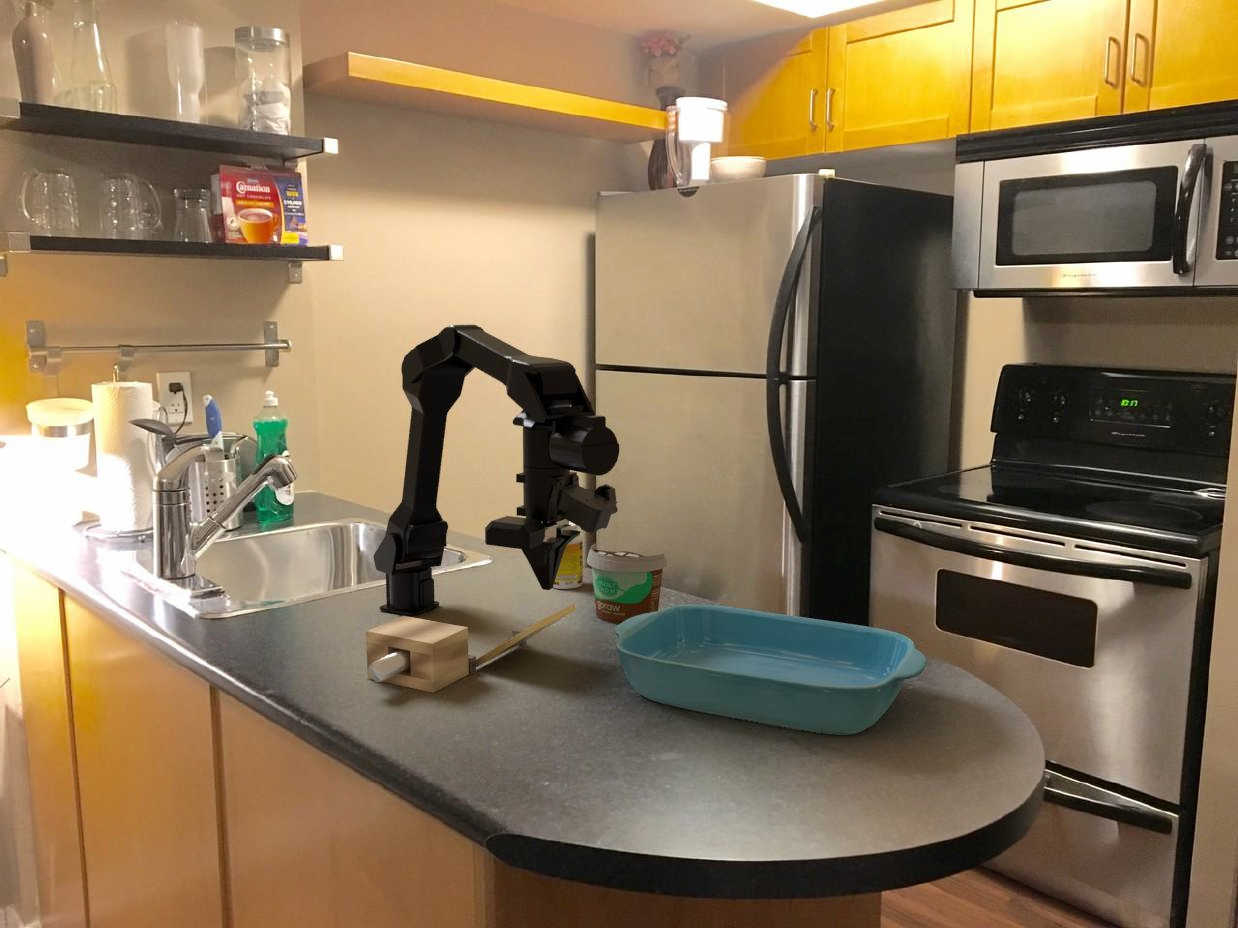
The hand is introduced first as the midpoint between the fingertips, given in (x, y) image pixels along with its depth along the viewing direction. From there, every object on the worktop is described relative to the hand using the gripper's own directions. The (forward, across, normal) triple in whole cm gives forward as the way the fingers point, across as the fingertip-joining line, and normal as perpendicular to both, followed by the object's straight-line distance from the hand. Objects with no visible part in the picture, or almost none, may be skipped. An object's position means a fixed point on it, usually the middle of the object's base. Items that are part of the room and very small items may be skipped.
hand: (547, 589), depth 131 cm
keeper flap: (+7, 0, +3) cm, 8 cm away
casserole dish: (+11, +4, -27) cm, 29 cm away
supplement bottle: (+10, +34, +17) cm, 40 cm away
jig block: (+10, -10, +12) cm, 19 cm away
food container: (+10, +22, +1) cm, 24 cm away
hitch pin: (+9, -11, +12) cm, 19 cm away
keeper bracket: (+10, 0, +8) cm, 13 cm away
